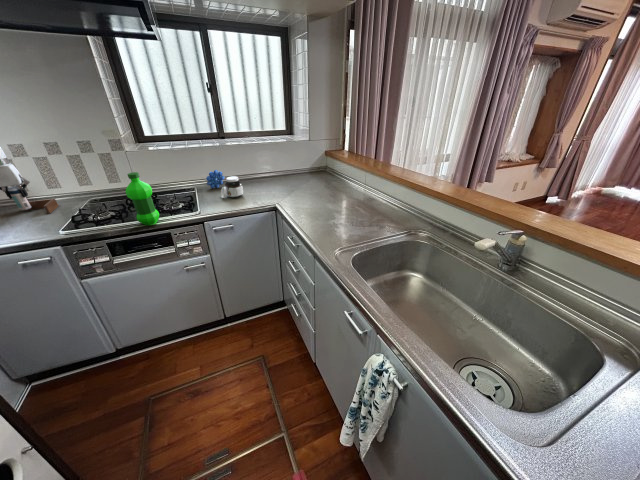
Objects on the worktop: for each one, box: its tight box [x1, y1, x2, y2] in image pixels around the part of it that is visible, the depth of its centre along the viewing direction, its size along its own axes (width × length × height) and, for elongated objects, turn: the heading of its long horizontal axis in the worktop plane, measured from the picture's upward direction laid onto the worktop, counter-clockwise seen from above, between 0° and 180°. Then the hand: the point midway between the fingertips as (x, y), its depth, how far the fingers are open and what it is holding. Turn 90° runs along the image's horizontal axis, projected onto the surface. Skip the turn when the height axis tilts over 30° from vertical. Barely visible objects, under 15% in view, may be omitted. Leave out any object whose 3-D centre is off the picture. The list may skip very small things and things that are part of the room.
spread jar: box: [220, 175, 244, 199], centre depth 161 cm, size 12×11×12 cm
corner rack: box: [22, 198, 59, 215], centre depth 143 cm, size 15×12×4 cm
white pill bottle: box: [8, 185, 31, 211], centre depth 141 cm, size 5×5×12 cm
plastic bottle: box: [125, 171, 160, 226], centre depth 126 cm, size 10×10×25 cm
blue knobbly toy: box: [205, 169, 225, 189], centre depth 176 cm, size 12×7×12 cm, turn 116°
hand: (18, 197), depth 140 cm, fingers closed on white pill bottle, 4 cm apart
